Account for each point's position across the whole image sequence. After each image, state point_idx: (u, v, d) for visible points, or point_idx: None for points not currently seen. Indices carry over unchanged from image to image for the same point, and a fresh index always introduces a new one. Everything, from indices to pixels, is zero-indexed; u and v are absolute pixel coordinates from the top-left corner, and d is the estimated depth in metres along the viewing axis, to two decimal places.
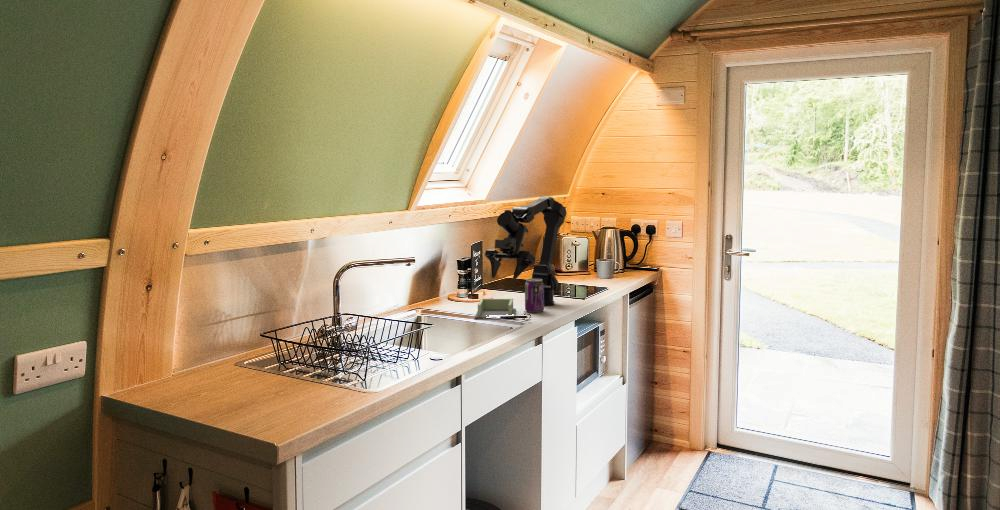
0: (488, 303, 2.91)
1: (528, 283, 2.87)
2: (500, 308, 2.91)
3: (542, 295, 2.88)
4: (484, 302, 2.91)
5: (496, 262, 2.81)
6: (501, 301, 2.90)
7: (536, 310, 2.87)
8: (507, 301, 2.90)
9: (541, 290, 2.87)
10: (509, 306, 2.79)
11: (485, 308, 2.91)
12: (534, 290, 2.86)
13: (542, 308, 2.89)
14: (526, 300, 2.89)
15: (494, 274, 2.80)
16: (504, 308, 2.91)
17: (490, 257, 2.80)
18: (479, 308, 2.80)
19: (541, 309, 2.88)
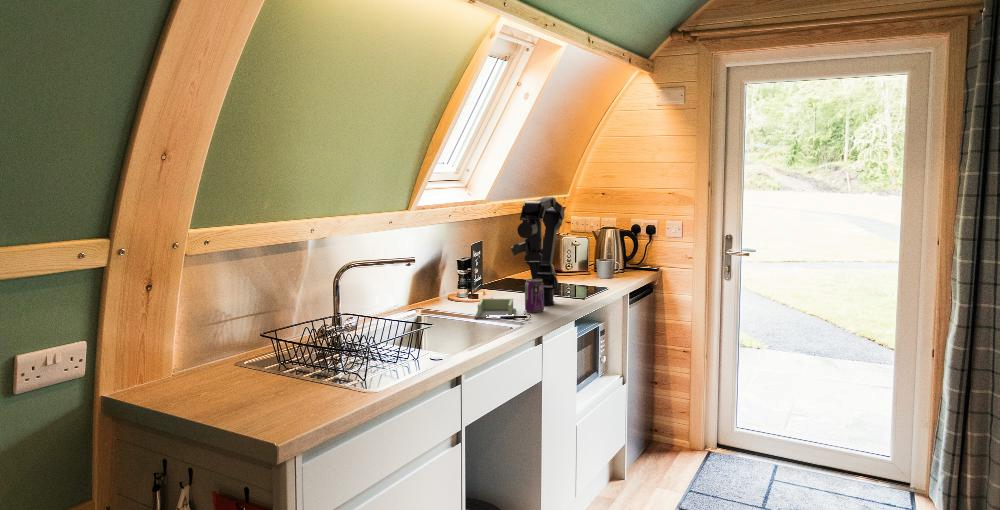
0: (488, 303, 2.91)
1: (528, 283, 2.87)
2: (500, 308, 2.91)
3: (542, 295, 2.88)
4: (484, 302, 2.91)
5: None
6: (501, 301, 2.90)
7: (536, 310, 2.87)
8: (507, 301, 2.90)
9: (541, 290, 2.87)
10: (509, 306, 2.79)
11: (485, 308, 2.91)
12: (534, 290, 2.86)
13: (542, 308, 2.89)
14: (526, 300, 2.89)
15: None
16: (504, 308, 2.91)
17: None
18: (479, 308, 2.80)
19: (541, 309, 2.88)
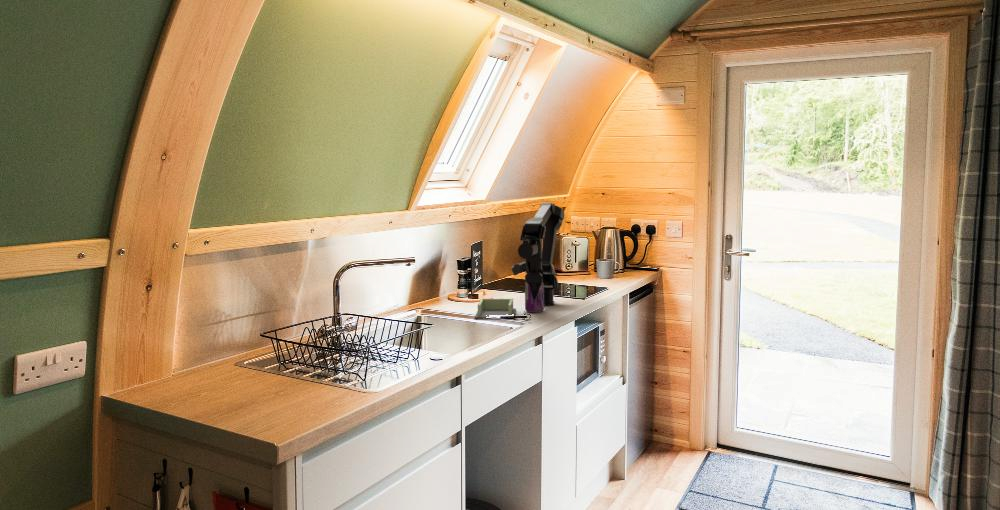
0: (488, 303, 2.91)
1: None
2: (500, 308, 2.91)
3: (542, 295, 2.88)
4: (484, 302, 2.91)
5: None
6: (501, 301, 2.90)
7: (536, 310, 2.87)
8: (507, 301, 2.90)
9: (541, 290, 2.87)
10: (509, 306, 2.79)
11: (485, 308, 2.91)
12: None
13: (542, 308, 2.89)
14: (526, 300, 2.89)
15: None
16: (504, 308, 2.91)
17: None
18: (479, 308, 2.80)
19: (541, 309, 2.88)
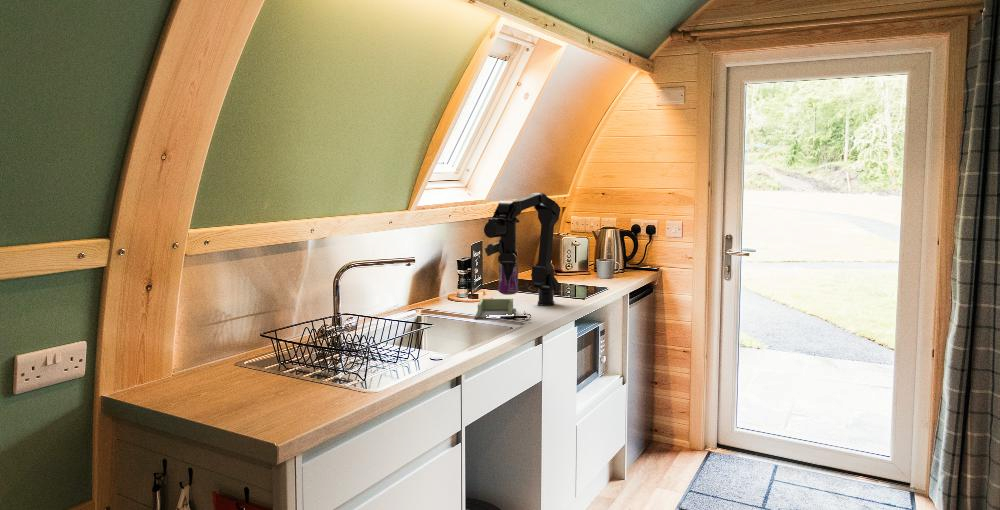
0: (488, 303, 2.91)
1: None
2: (500, 308, 2.91)
3: (516, 277, 2.83)
4: (484, 302, 2.91)
5: None
6: (501, 301, 2.90)
7: (510, 292, 2.82)
8: (507, 301, 2.90)
9: (515, 271, 2.82)
10: (509, 306, 2.79)
11: (485, 308, 2.91)
12: None
13: (516, 290, 2.83)
14: (500, 282, 2.83)
15: None
16: (504, 308, 2.91)
17: None
18: (479, 308, 2.80)
19: (515, 291, 2.83)
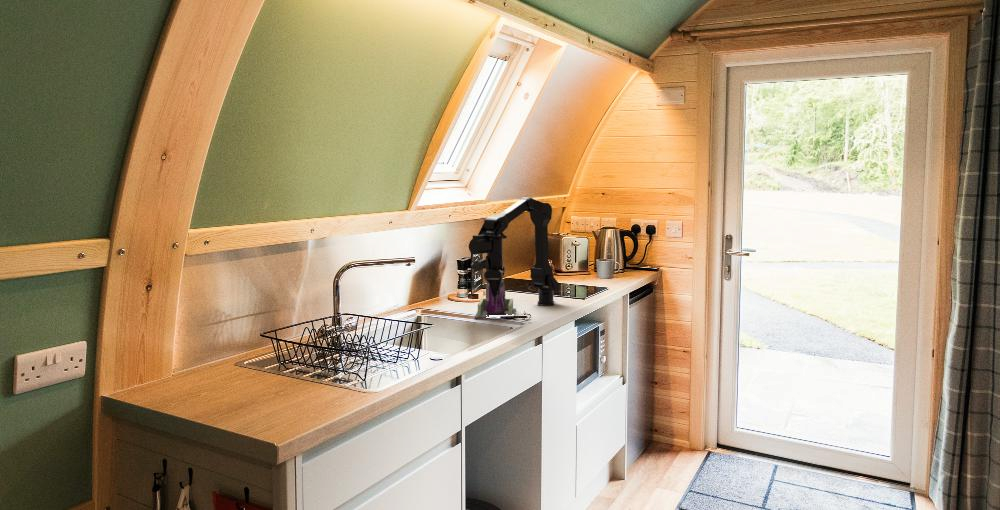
0: None
1: (489, 284, 2.81)
2: None
3: (503, 296, 2.82)
4: (484, 302, 2.91)
5: None
6: None
7: (497, 312, 2.81)
8: (507, 301, 2.90)
9: (502, 291, 2.81)
10: (509, 306, 2.79)
11: (485, 308, 2.91)
12: None
13: (503, 310, 2.83)
14: (487, 301, 2.83)
15: None
16: None
17: None
18: (479, 308, 2.80)
19: (502, 311, 2.82)
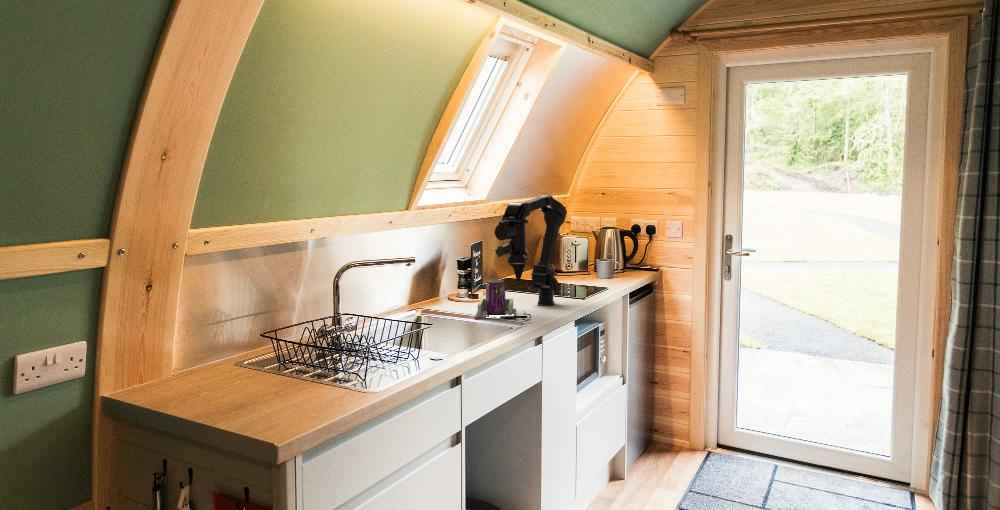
0: None
1: (489, 284, 2.81)
2: None
3: (503, 296, 2.82)
4: (484, 302, 2.91)
5: None
6: None
7: (497, 312, 2.81)
8: (507, 301, 2.90)
9: (502, 291, 2.82)
10: (509, 306, 2.79)
11: (485, 308, 2.91)
12: (495, 292, 2.80)
13: (503, 310, 2.83)
14: (487, 301, 2.83)
15: None
16: None
17: None
18: (479, 308, 2.80)
19: (502, 311, 2.82)
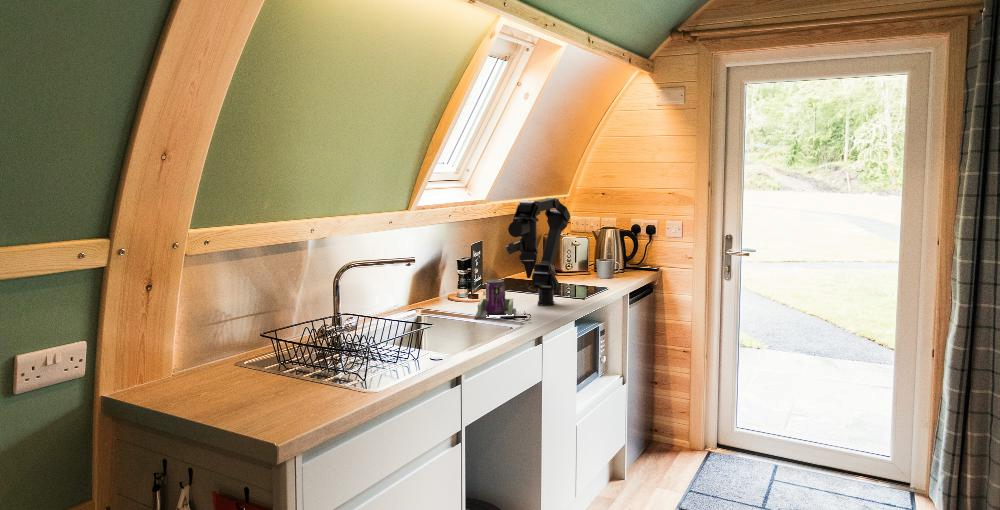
0: None
1: (489, 284, 2.81)
2: None
3: (503, 296, 2.82)
4: (484, 302, 2.91)
5: None
6: None
7: (497, 312, 2.81)
8: (507, 301, 2.90)
9: (502, 291, 2.82)
10: (509, 306, 2.79)
11: (485, 308, 2.91)
12: (495, 292, 2.80)
13: (503, 309, 2.83)
14: (487, 301, 2.83)
15: None
16: None
17: None
18: (479, 308, 2.80)
19: (502, 311, 2.82)
